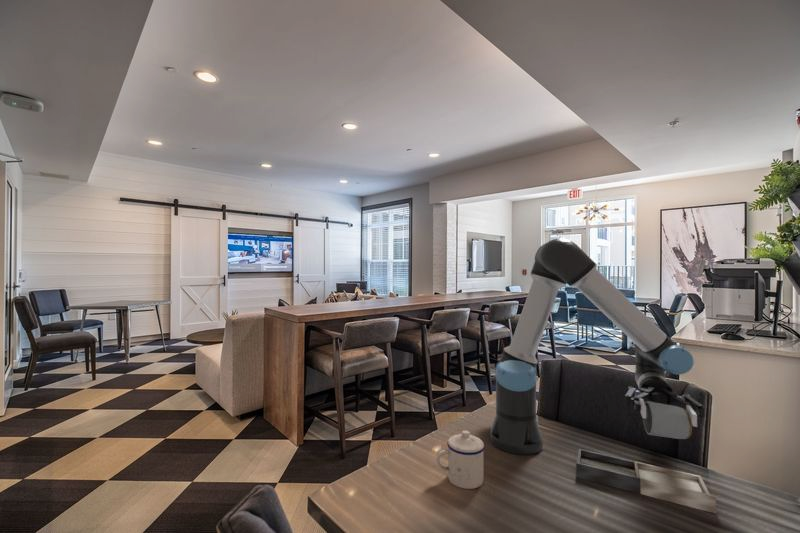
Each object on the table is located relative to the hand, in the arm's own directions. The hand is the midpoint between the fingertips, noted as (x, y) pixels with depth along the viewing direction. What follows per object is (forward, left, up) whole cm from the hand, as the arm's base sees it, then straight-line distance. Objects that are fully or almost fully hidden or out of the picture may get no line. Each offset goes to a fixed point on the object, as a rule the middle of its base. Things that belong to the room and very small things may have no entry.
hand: (668, 416), depth 81 cm
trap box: (-6, +4, -18) cm, 20 cm away
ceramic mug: (-1, +5, -6) cm, 8 cm away
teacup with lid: (-44, -18, -18) cm, 51 cm away
